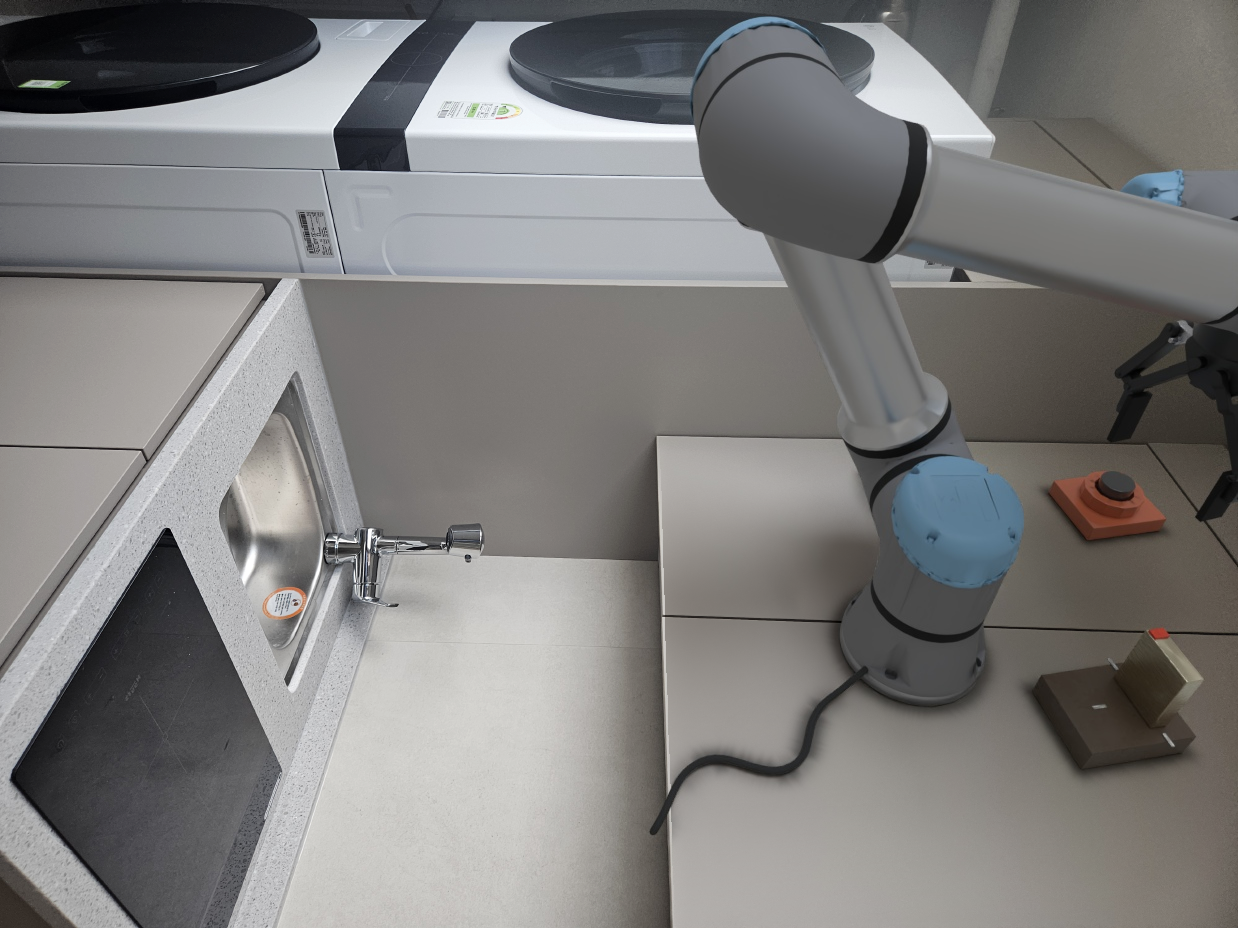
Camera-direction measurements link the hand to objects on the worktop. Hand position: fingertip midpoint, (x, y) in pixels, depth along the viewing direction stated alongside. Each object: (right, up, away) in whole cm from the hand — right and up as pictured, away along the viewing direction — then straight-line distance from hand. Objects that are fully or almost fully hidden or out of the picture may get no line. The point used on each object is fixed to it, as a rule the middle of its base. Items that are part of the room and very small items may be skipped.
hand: (1160, 476), depth 90 cm
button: (+3, -2, +13) cm, 13 cm away
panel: (-10, -25, -7) cm, 28 cm away
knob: (-8, -23, -9) cm, 26 cm away
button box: (+3, -5, +15) cm, 16 cm away
